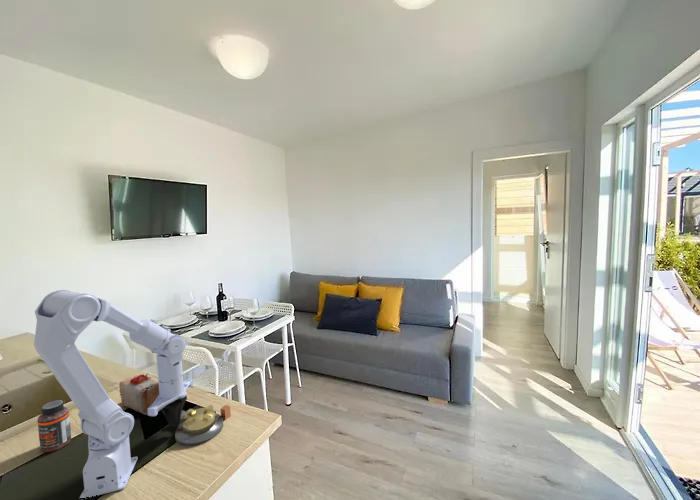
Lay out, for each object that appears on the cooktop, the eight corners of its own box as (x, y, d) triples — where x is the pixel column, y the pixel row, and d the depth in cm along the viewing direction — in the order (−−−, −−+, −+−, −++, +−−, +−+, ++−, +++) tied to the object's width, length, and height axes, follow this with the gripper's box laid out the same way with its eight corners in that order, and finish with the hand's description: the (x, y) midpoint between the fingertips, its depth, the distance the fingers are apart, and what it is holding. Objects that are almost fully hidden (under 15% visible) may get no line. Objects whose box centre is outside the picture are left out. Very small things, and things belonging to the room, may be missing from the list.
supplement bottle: (34, 456, 77) (29, 413, 76) (49, 440, 82) (45, 400, 81) (63, 450, 78) (58, 408, 77) (76, 435, 84) (72, 396, 83)
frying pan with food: (195, 451, 77) (194, 440, 77) (165, 437, 82) (164, 427, 82) (238, 418, 90) (237, 408, 90) (209, 408, 95) (209, 399, 95)
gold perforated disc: (222, 420, 87) (222, 408, 87) (196, 439, 79) (195, 426, 79) (190, 408, 93) (189, 397, 93) (163, 424, 85) (162, 413, 85)
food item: (116, 406, 97) (113, 377, 96) (142, 394, 104) (140, 366, 103) (142, 418, 91) (139, 386, 90) (168, 403, 98) (166, 374, 97)
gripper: (163, 393, 75) (167, 445, 76) (201, 365, 89) (204, 409, 90) (138, 391, 76) (142, 442, 77) (179, 364, 90) (182, 408, 92)
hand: (174, 424), depth 84 cm, fingers closed
